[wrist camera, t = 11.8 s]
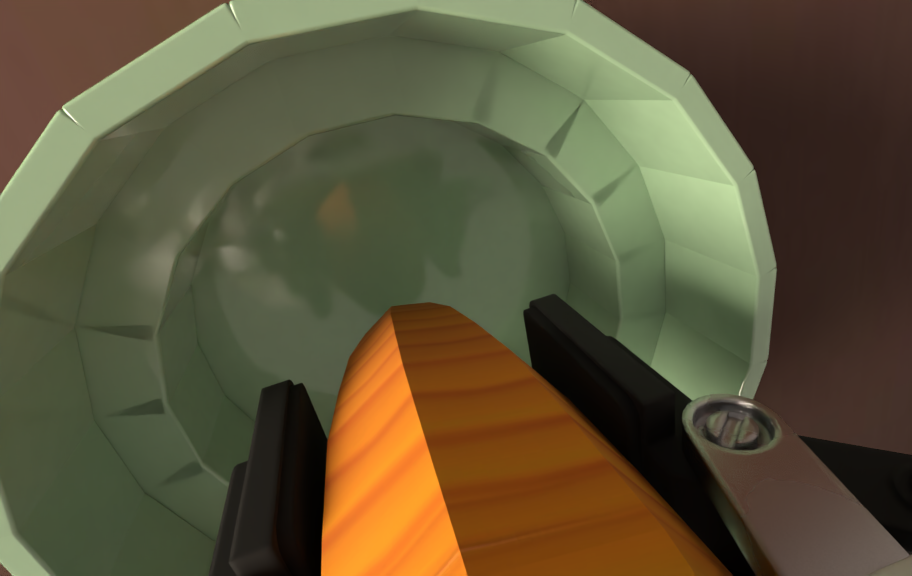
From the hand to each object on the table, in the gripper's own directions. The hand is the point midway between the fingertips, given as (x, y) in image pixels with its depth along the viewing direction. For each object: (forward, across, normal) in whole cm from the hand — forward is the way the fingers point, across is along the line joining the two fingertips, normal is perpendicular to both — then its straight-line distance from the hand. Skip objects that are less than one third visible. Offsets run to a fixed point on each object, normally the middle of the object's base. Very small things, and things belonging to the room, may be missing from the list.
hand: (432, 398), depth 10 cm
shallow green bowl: (+5, 0, 0) cm, 5 cm away
